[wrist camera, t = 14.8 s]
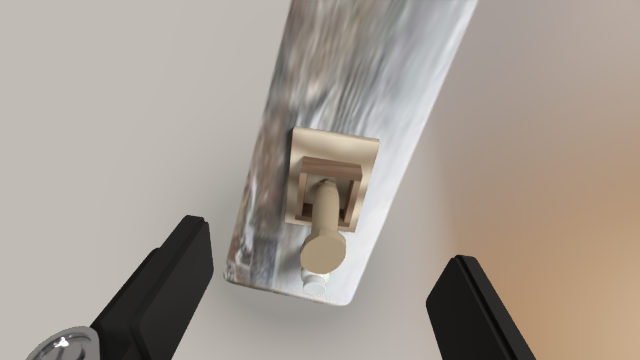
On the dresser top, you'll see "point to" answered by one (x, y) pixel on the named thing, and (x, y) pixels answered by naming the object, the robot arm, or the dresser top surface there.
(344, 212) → the wooden base with box
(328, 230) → the handle
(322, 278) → the supplement bottle
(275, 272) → the dresser top surface
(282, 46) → the dresser top surface
